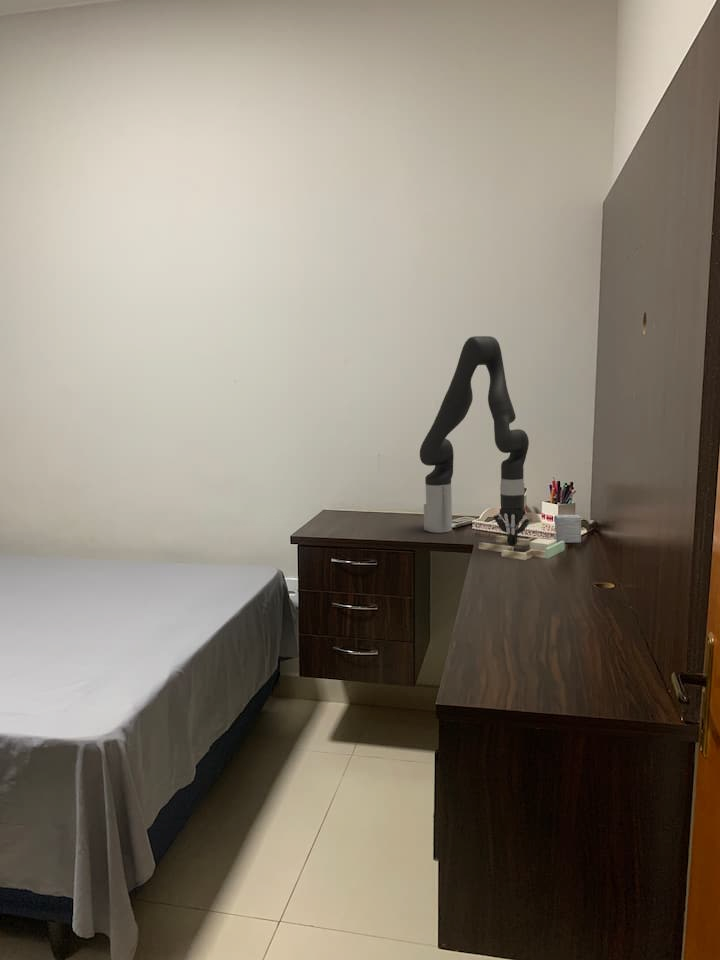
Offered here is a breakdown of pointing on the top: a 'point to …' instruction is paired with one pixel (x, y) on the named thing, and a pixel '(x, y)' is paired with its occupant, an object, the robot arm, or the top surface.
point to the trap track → (509, 550)
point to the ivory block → (541, 544)
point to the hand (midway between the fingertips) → (512, 545)
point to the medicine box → (568, 528)
